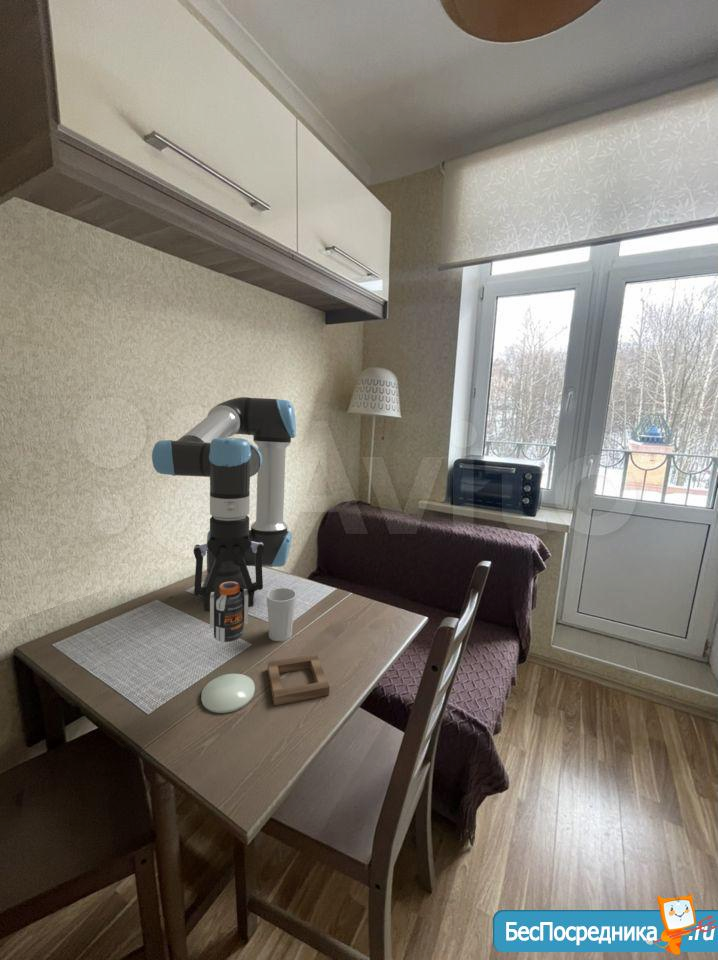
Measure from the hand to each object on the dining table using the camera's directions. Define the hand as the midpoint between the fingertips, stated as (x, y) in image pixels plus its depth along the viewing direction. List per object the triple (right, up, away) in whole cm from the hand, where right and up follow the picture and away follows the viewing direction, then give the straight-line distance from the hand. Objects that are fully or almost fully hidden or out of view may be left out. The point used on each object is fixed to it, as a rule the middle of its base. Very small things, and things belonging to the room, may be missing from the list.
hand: (229, 622), depth 81 cm
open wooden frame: (+13, -17, +8) cm, 23 cm away
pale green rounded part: (-1, -17, +3) cm, 17 cm away
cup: (+5, -13, +26) cm, 30 cm away
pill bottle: (0, -3, 0) cm, 3 cm away
